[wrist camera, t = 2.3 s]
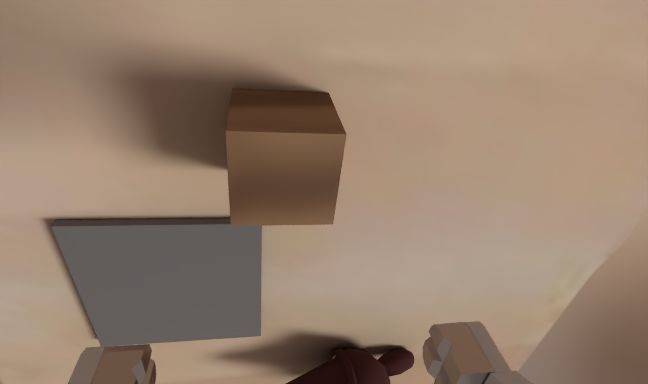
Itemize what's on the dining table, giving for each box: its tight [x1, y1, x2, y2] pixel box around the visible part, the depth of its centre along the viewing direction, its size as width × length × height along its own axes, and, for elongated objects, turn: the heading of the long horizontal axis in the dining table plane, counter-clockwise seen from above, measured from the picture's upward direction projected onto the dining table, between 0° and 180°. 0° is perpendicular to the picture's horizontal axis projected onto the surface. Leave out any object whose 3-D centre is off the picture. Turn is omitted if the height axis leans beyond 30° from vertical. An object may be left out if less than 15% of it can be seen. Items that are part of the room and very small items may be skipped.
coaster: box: [51, 218, 262, 347], centre depth 26 cm, size 12×12×1 cm
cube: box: [225, 88, 346, 226], centre depth 19 cm, size 5×5×5 cm
